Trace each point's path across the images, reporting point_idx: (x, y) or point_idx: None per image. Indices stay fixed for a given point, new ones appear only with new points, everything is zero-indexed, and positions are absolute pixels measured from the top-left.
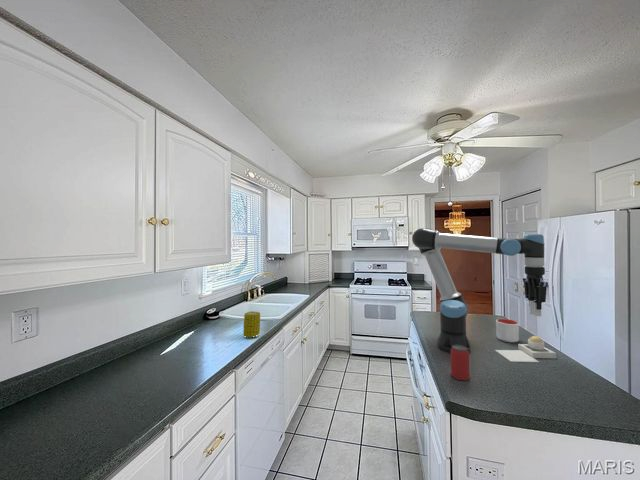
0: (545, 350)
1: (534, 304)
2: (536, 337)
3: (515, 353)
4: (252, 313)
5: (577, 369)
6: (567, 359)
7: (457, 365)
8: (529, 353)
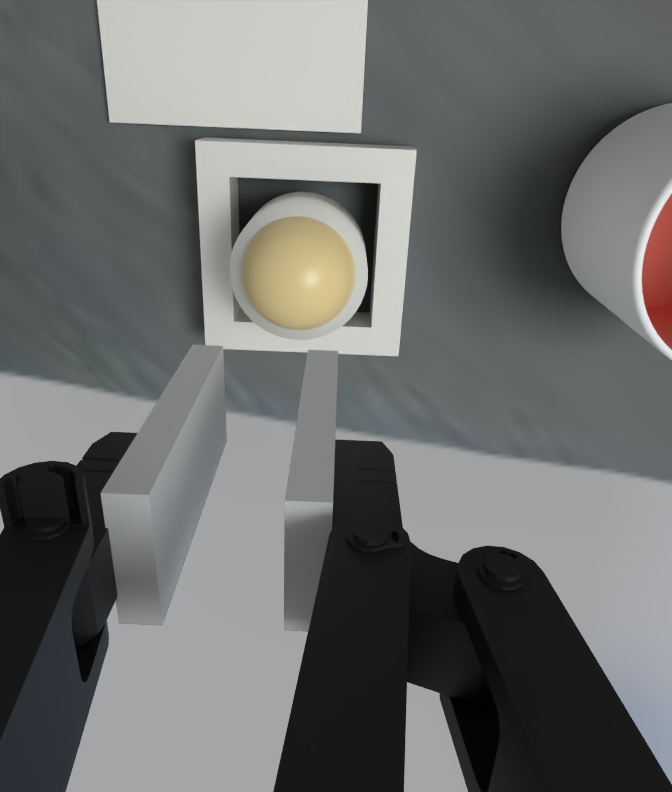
0: None
1: (142, 461)
2: (272, 276)
3: (281, 14)
4: None
5: (32, 334)
6: None
7: None
8: (245, 140)
